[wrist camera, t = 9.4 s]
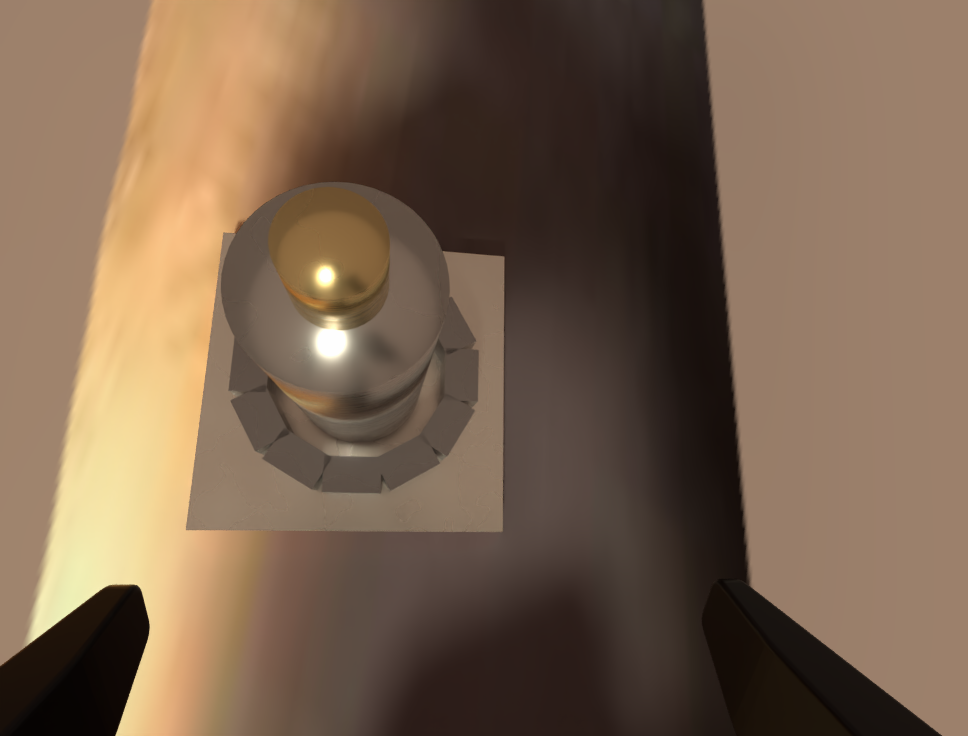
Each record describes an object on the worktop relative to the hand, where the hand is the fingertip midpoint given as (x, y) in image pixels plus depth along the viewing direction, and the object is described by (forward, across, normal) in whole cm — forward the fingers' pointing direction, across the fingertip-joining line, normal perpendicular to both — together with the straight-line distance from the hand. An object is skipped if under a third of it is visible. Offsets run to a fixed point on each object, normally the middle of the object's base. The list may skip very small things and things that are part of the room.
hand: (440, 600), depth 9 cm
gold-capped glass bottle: (+13, +3, +3) cm, 14 cm away
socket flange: (+14, +3, +4) cm, 15 cm away
